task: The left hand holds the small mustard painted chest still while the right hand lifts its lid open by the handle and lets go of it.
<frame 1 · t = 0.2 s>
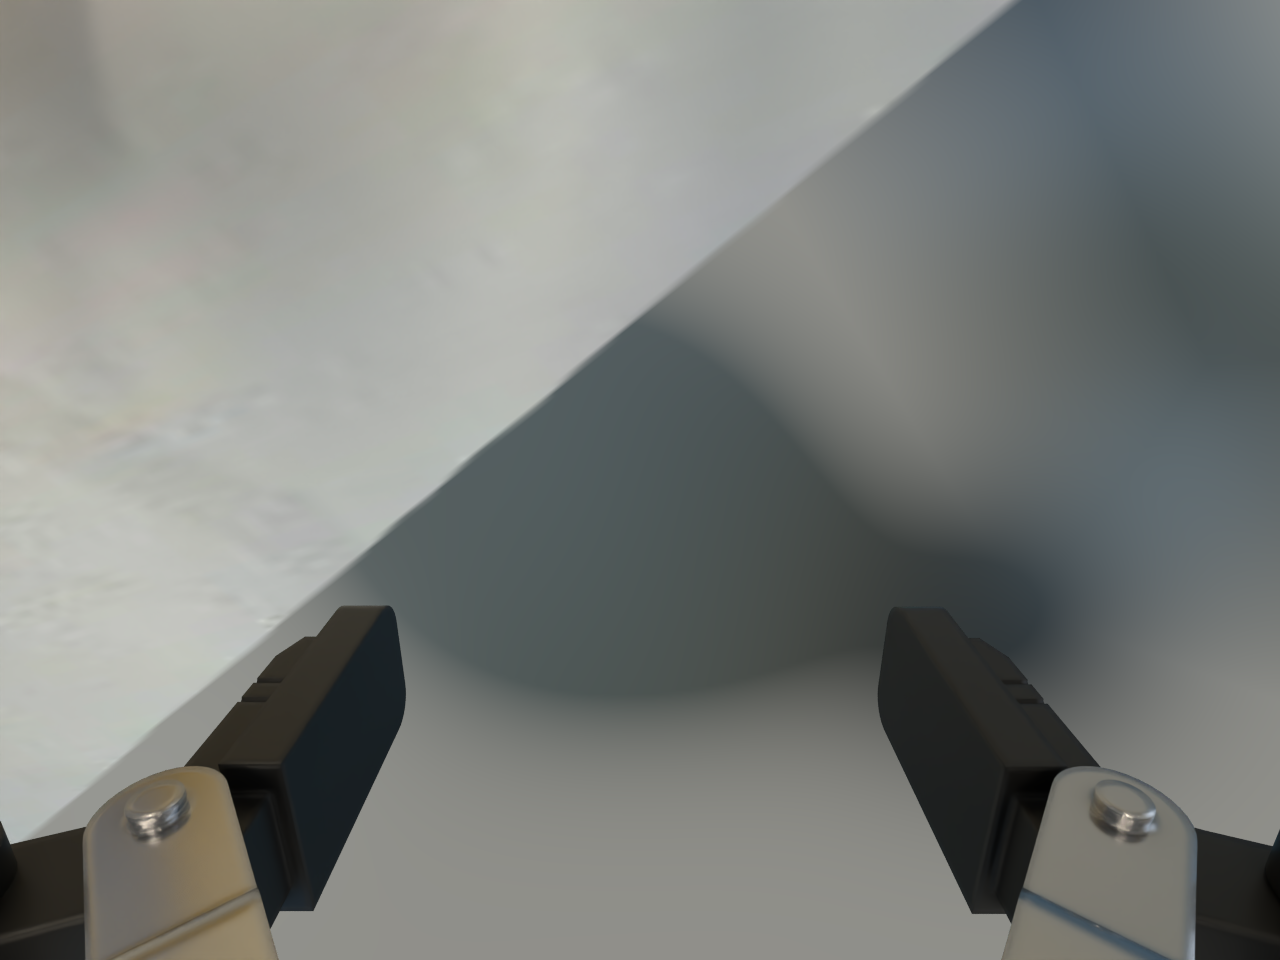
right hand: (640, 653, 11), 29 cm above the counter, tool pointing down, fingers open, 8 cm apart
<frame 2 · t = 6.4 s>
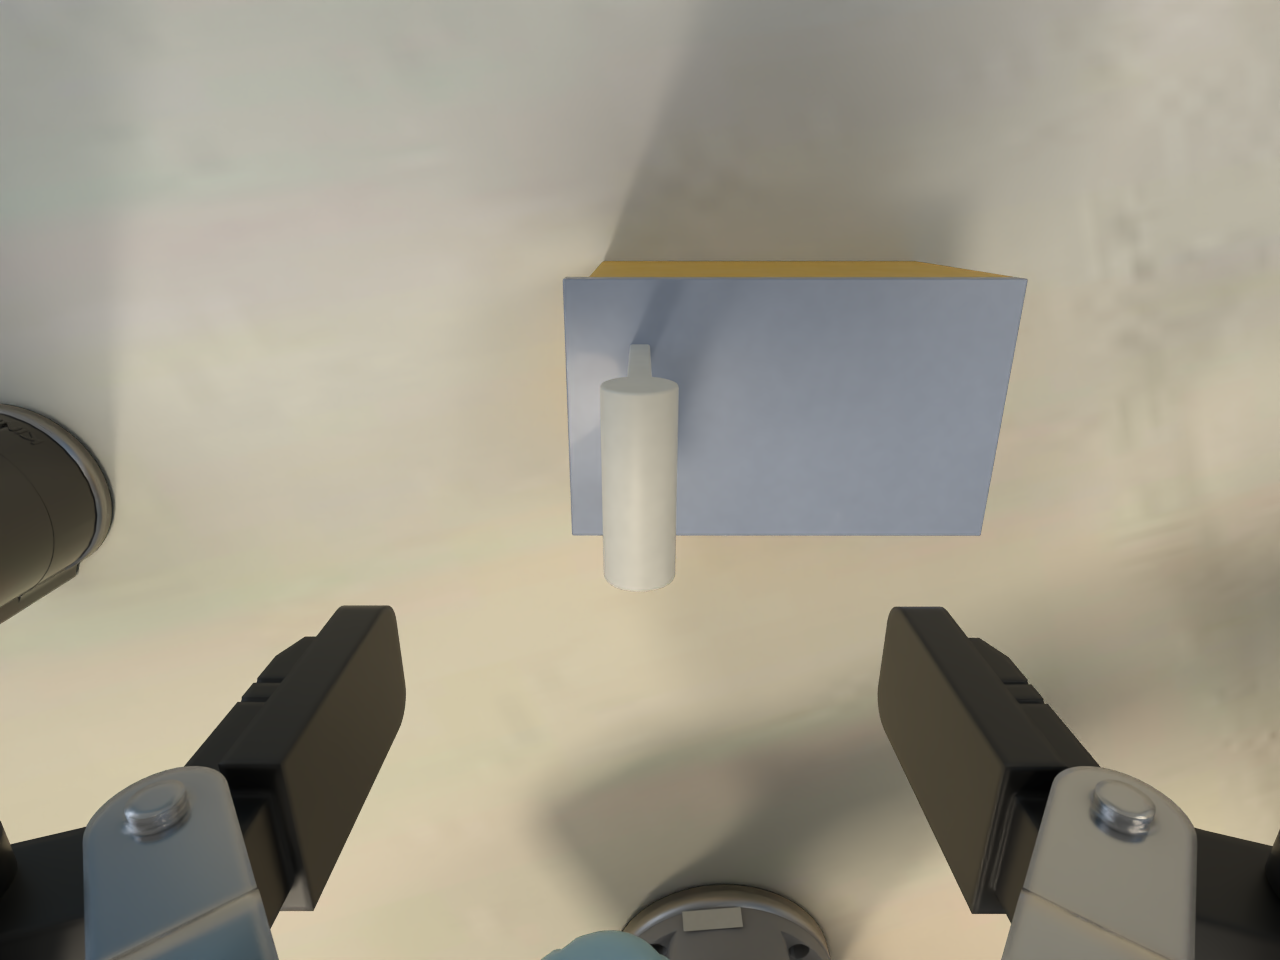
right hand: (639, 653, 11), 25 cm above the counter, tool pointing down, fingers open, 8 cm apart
lid: (807, 445, 22), point 14 cm above the counter, hinge at 0.0°
chest: (753, 361, 35), on the counter
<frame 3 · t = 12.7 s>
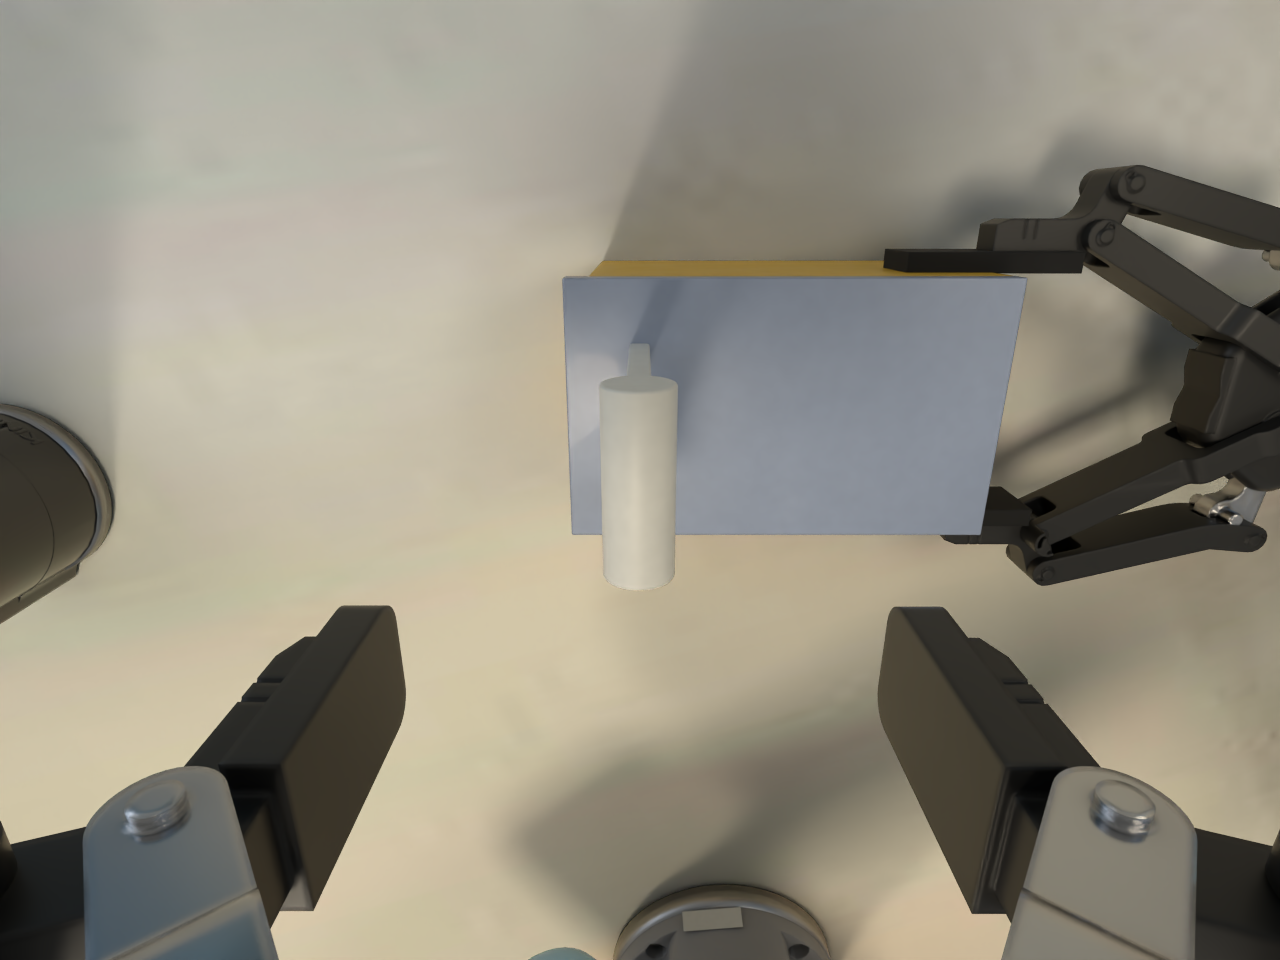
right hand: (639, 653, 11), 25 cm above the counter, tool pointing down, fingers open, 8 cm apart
left hand: (879, 390, 29), fingers closed on chest, 10 cm apart
lid: (806, 444, 22), point 14 cm above the counter, hinge at 0.0°
chest: (753, 360, 35), on the counter, touching left hand
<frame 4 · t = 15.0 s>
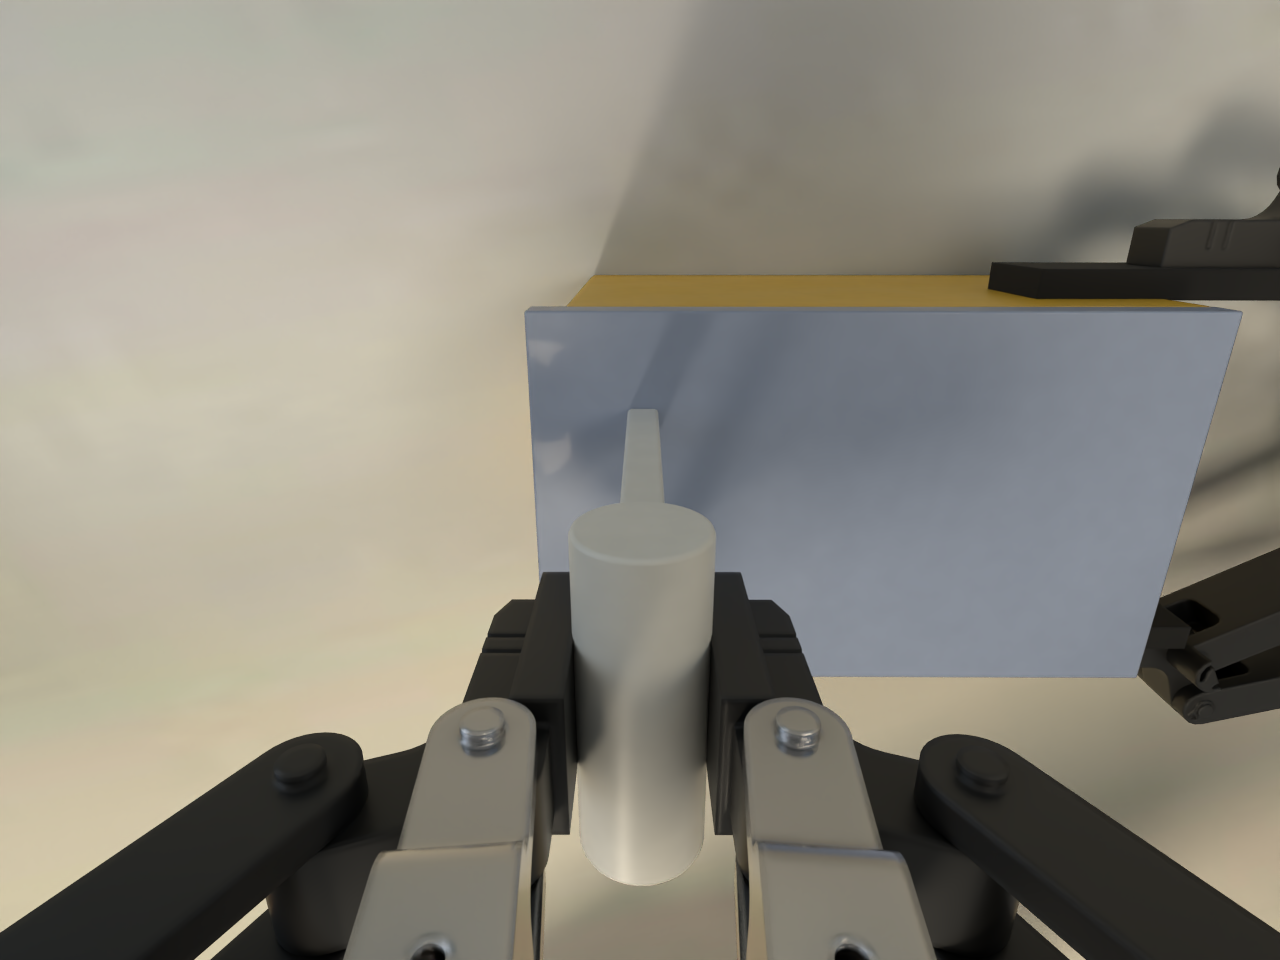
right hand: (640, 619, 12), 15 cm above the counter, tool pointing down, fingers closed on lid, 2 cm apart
lid: (912, 583, 14), point 14 cm above the counter, hinge at -0.1°, touching right hand
chest: (791, 405, 27), on the counter, touching left hand
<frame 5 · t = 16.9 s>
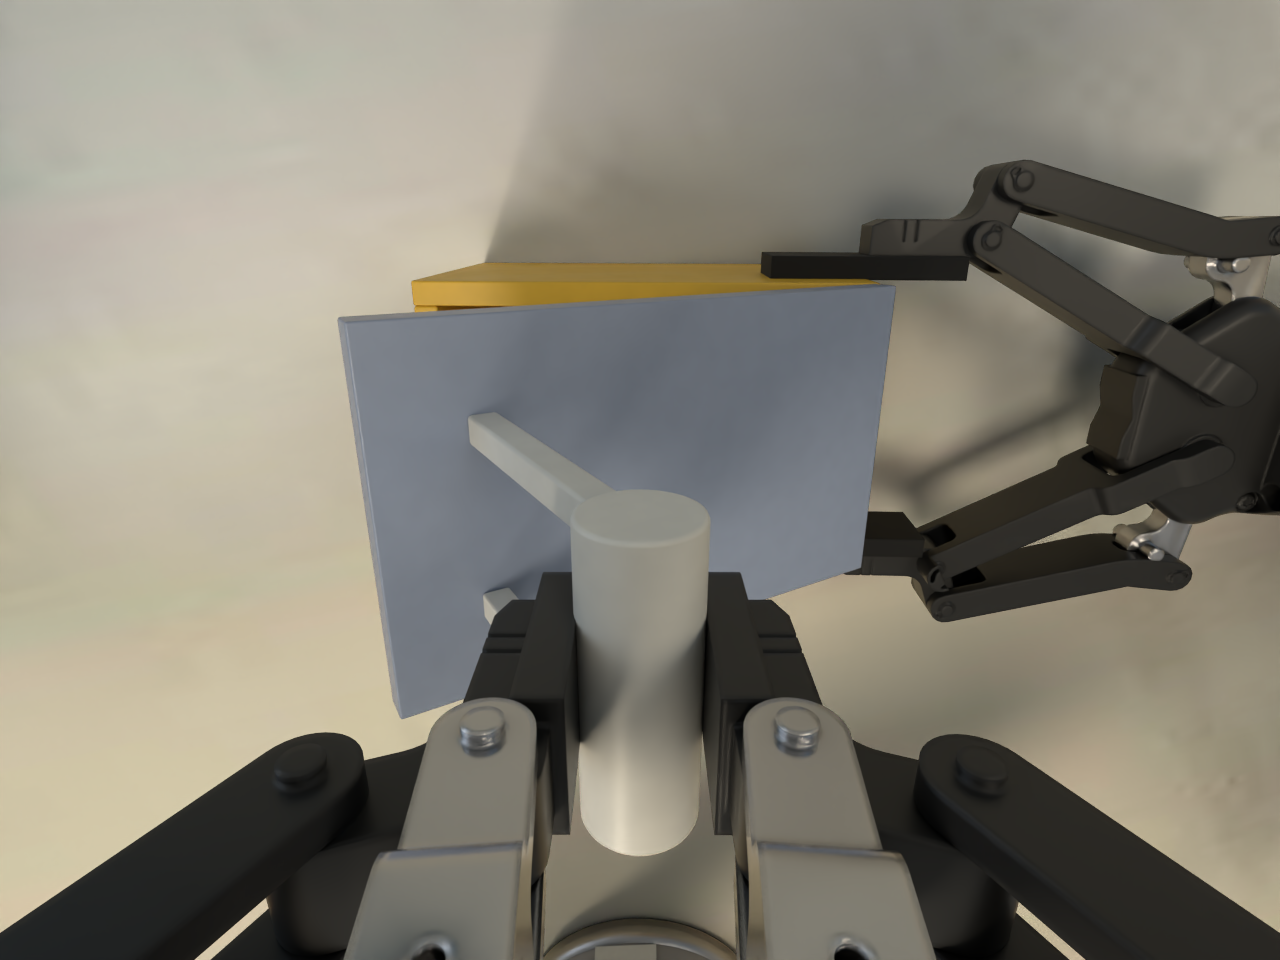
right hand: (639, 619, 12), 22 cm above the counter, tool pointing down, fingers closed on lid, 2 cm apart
left hand: (757, 407, 27), fingers closed on chest, 10 cm apart
lid: (760, 526, 16), point 18 cm above the counter, hinge at 32.7°, touching right hand
chest: (649, 370, 33), on the counter, touching left hand
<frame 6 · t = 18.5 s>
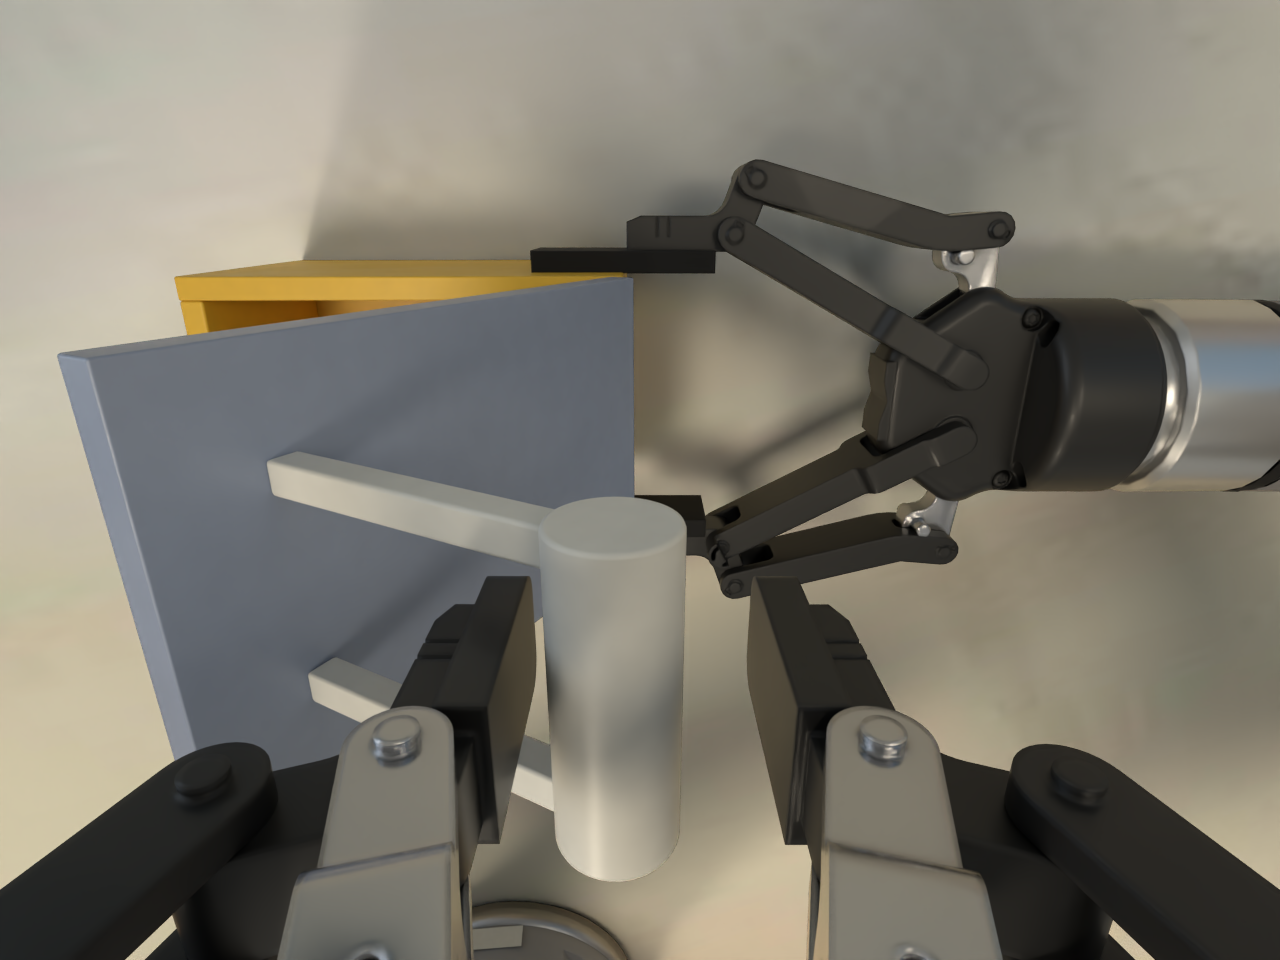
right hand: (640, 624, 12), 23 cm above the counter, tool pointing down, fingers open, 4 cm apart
left hand: (542, 395, 28), fingers closed on chest, 10 cm apart
lid: (603, 520, 16), point 19 cm above the counter, hinge at 61.1°
chest: (472, 363, 34), on the counter, touching left hand
when the left hand's fingers open (7 cm above the counter, at t = 23.0 s): chest stays where it is, on the counter.
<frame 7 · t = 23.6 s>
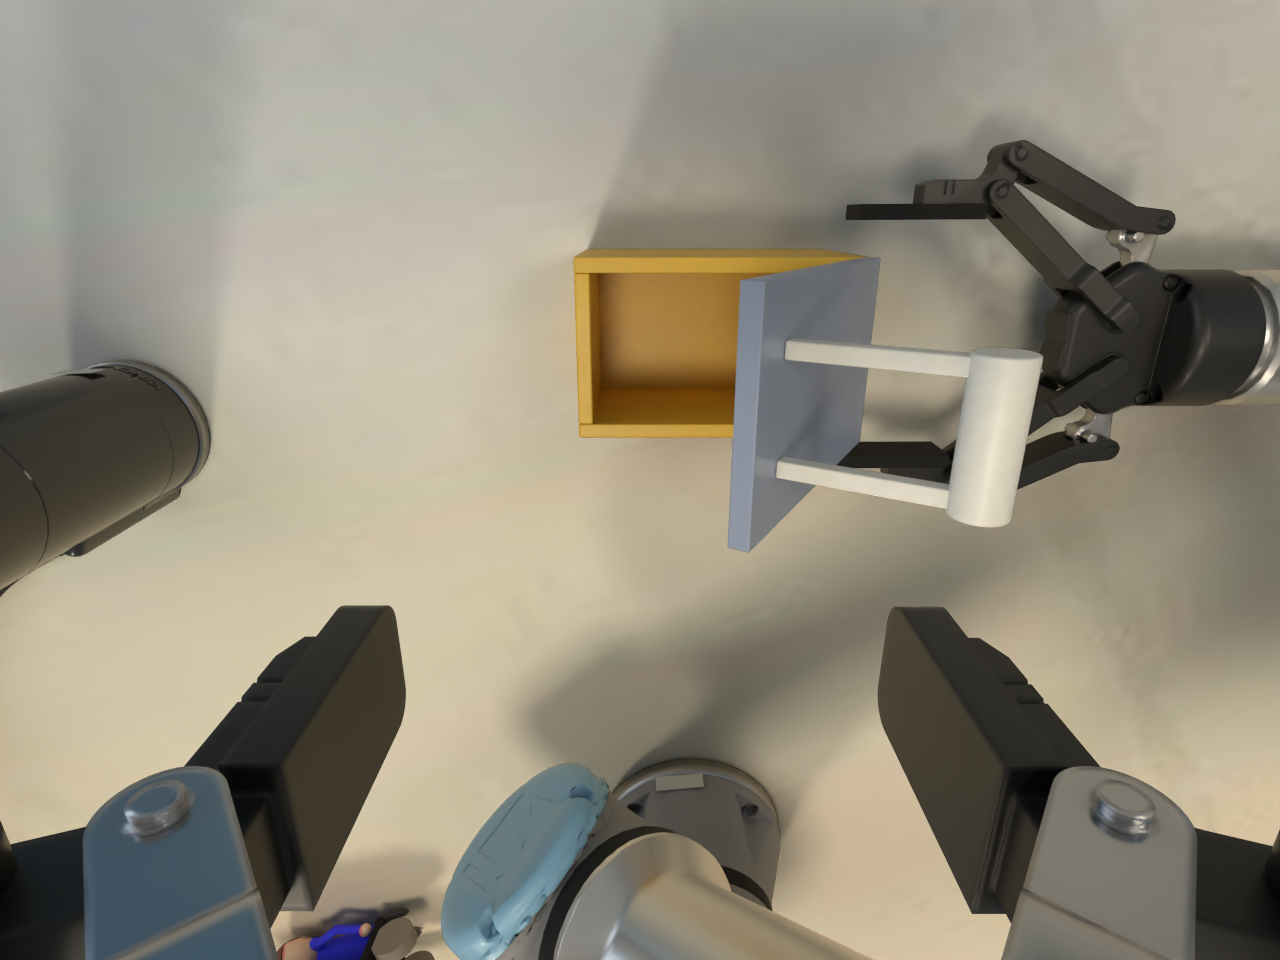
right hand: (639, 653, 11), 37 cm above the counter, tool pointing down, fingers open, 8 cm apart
left hand: (840, 340, 40), fingers open, 13 cm apart
lid: (912, 392, 29), point 19 cm above the counter, hinge at 59.6°
figurine character: (360, 929, 66), on the counter
chest: (702, 325, 46), on the counter
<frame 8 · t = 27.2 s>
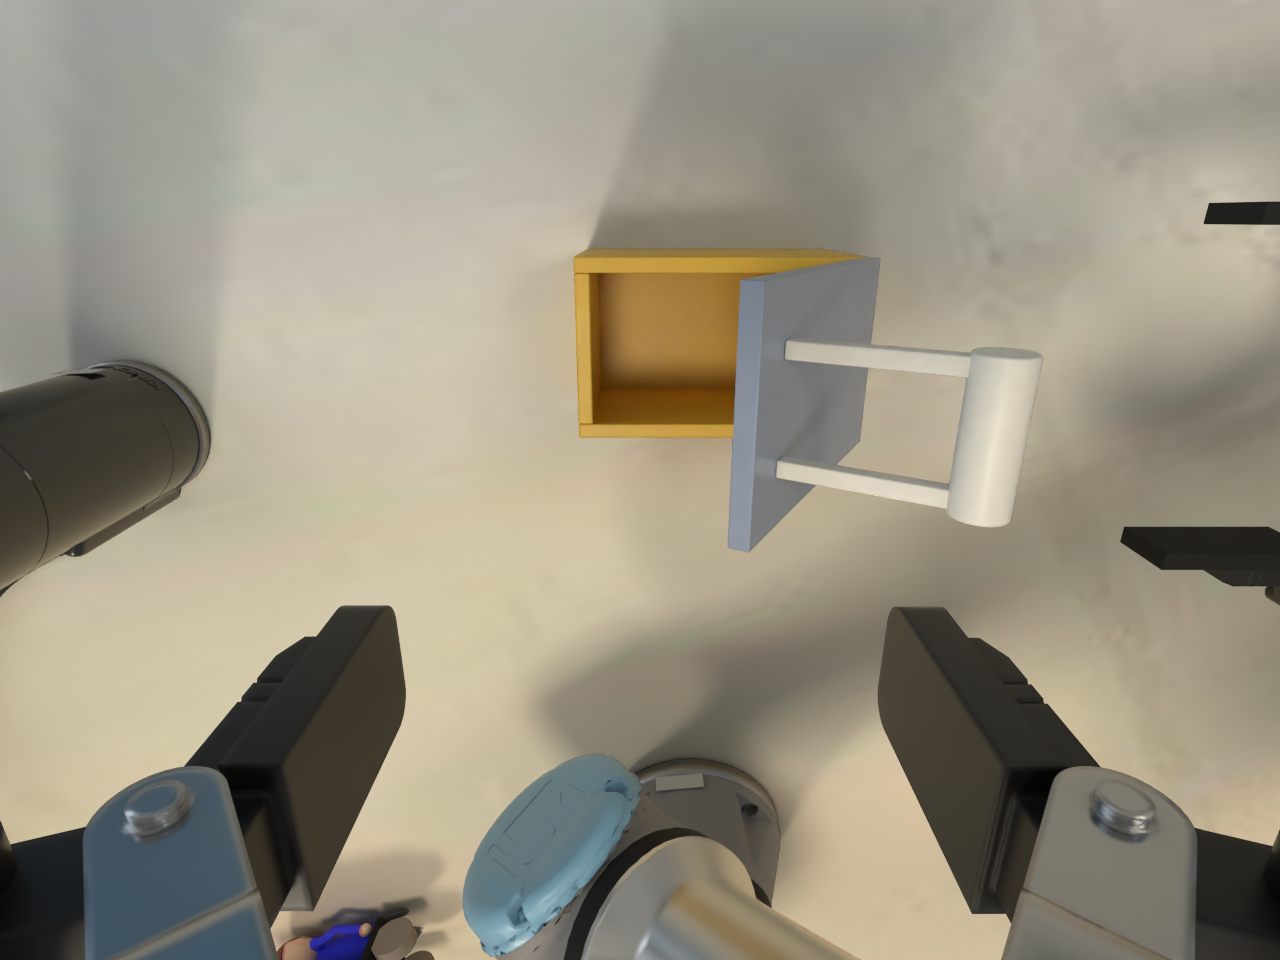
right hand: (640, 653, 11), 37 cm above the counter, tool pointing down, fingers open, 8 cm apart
lid: (912, 392, 29), point 19 cm above the counter, hinge at 59.6°
figurine character: (360, 929, 66), on the counter
chest: (702, 325, 46), on the counter
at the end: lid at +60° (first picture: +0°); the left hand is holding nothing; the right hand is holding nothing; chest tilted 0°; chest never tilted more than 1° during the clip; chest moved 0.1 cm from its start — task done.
